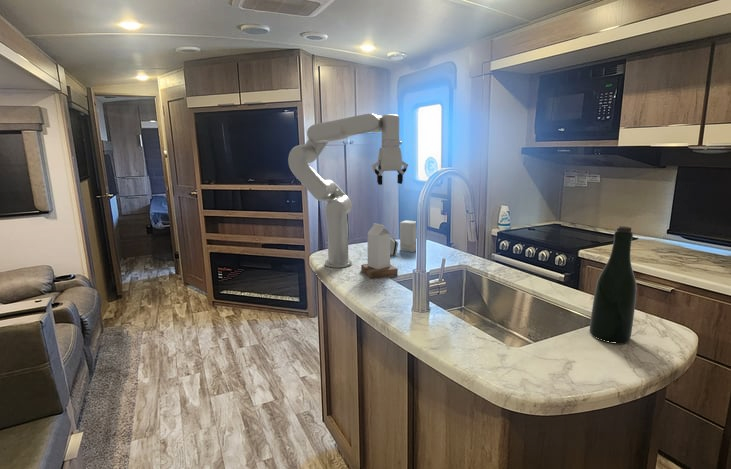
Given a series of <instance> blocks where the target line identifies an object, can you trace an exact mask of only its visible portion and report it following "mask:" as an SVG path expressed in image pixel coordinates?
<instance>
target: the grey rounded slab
mask: <svg viewBox="0 0 731 469" xmlns="http://www.w3.org/2000/svg"><path fill="white" fill-rule="evenodd" d="M398 246H399V242H398V241H397V239H395V238H393V237H391V236H390V256H395V257H396V256H397V252H398Z"/></svg>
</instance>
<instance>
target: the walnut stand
mask: <svg viewBox="0 0 731 469" xmlns="http://www.w3.org/2000/svg"><path fill="white" fill-rule="evenodd" d="M360 270H361V272H362V273H363V274H365V275H366V276H367V277H369V278H371V280H375V279H381V278H383V279H384V278H388V277H389V278H390V277H395V276H399V275H398V274H399V271H398V268H397V267H396V266H394V265H392V264H391V263H390V267H386V268H382V269H375V268H372V267H369V266H368V263H364V264H363V263H362V264H361V269H360Z"/></svg>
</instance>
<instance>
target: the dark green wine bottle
mask: <svg viewBox="0 0 731 469" xmlns="http://www.w3.org/2000/svg"><path fill="white" fill-rule="evenodd" d="M633 238H634V235H633V232H632V227H629V226H617V227H616V230H615V231H614V234H613V244H612V248H611V253H610V256H609V258H608V260H607V263H606V264H605V266H604V267H603V269H602V271H601V273H600V274H599V276H598V279H597V281H596V285H595V289H594V295H593V302H592V309H591V316H590V322H589V330H588V331H589V333H590V334H592V335H593V336H592V335H591V336H592V337H594V336H595V337H597V338H599V339H602V340H605V341H609V342H616V343H623V344H627V343H628V341H629V342H630V340H631V339H632V338H631V337H632V332H633V325H634V318H635V317H634V316H635V310H636V303H637V302H636V301H637V289H638V287H637V280H636V277H635V274H634V270H633V266H632V261H631V252H632V251H631V247H632V242H633ZM595 337H594V338H595ZM597 338H596V339H597ZM599 339H598V340H599ZM626 342H627V343H626Z"/></svg>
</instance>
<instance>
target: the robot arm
mask: <svg viewBox="0 0 731 469" xmlns="http://www.w3.org/2000/svg"><path fill="white" fill-rule="evenodd" d="M366 133H373V134H376V133H381V147H379V150H378V157H377V161H376V162H375V163H373V164H372V165H371V168H372V170H373V173H375V175H376V180H377V181H376V183H377V185H379V186H382V185H383V175H382V174H383V173H384V172H395V171H396V172H397V184H399V185H401V184H403V182H404V180H403V179H404V177H403V176H404V174H405V173H406V172H407V169H408V167H409V164H408V163H406V162H405V161H403V158H402V156H403V155H402V150H401V147H400V145H402V143H403V142H402V141H400V117H399V114H391V113H390V114H387V113H386V114H383V115H377V114H375V113H364V114H359V115H354V116H350V117H345V118H339V119H335V120H330V121H323V122H319V123H314V124H312V125H310V126H309V127H308V128H307V131H306V136H307V141H306V143H305V144H299V145H296V146H294V147H293V148H292V149H291V150H290V151H289V153H288V159H287V162H288V167H289V169H290V171H291V172H292V174H293V175H294V177H295V178H296V179H297V180H298V181H299V182H300V183H301V184H302V185H303V187H304V188H305V189H306V190H307V191H308V192H309V193H310V194H311V195H312V197H313V198H314V199H315V200H317V201H320V202H322V201H325V202H326V206H325V218H326V226H327V227H326V228H327V256H328V257H327V258H328V259H327V260H325V262H324V265H325V266H326V267H328V268H334V269H336V268H337V269H340V268H346V267H350V266H351V265H353V264H352V263H353V262H352V260H351V259H350V258H349V224H348V216H347V215H348V214H349V213H350V212H351V211H352V208H353V203H352V201H351V199H350V197H349V196H348V195H347V194H346V193H345V192H344V191H343V190H342V189H341V188H340V186H339V185H338V184H337V183H336V182H334V181H333V180H332V179H330V178H323V177H321V176H320V174H319V173H318V172H317V171H316V169H314V168H313V167H312V166H310V164H311V163H314V162H315V161H316V160H317V158H318V157H319V156H320V155H321V154H322V152H323V150H324V149H325V148H326V146H327V144H328V143H329V142H334V141H340V140H344V139H347V138H349V137H351V136H355V135H361V134H362V135H363V134H366Z"/></svg>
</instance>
